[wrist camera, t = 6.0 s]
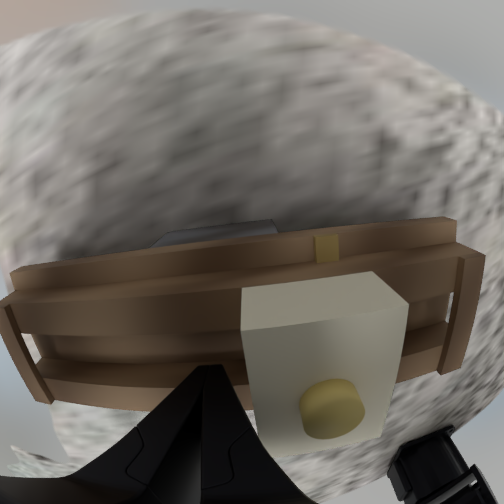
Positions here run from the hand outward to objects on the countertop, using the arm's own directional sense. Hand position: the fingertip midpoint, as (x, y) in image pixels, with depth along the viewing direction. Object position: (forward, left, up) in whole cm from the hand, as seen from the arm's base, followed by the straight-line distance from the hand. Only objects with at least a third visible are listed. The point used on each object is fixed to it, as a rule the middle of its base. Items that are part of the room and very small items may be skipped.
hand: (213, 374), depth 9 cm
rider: (-3, 0, -2) cm, 4 cm away
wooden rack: (0, 0, -6) cm, 6 cm away
